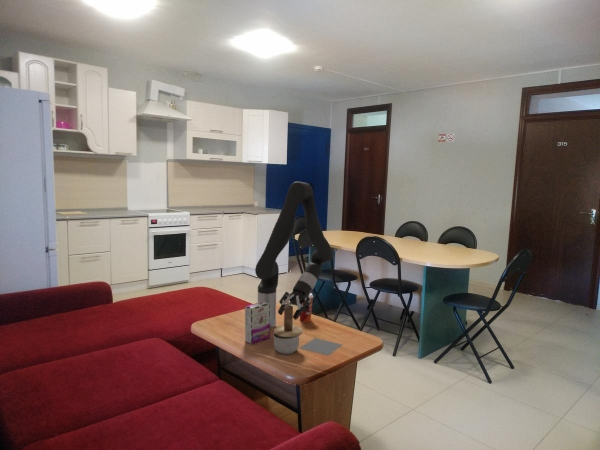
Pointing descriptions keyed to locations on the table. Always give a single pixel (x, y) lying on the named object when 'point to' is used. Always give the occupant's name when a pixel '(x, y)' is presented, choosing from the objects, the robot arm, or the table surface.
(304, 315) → the paper cup
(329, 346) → the rubber mat
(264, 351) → the table surface
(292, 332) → the oak lid
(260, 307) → the candy bar box
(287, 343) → the teacup
